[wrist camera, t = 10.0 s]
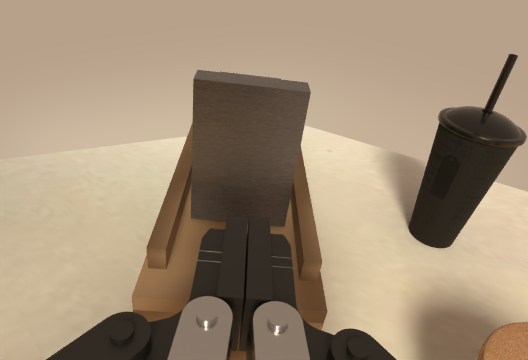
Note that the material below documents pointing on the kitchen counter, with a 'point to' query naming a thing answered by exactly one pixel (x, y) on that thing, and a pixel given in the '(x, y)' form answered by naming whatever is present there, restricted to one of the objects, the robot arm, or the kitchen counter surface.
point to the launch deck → (192, 230)
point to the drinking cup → (463, 166)
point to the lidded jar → (506, 343)
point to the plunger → (245, 145)
